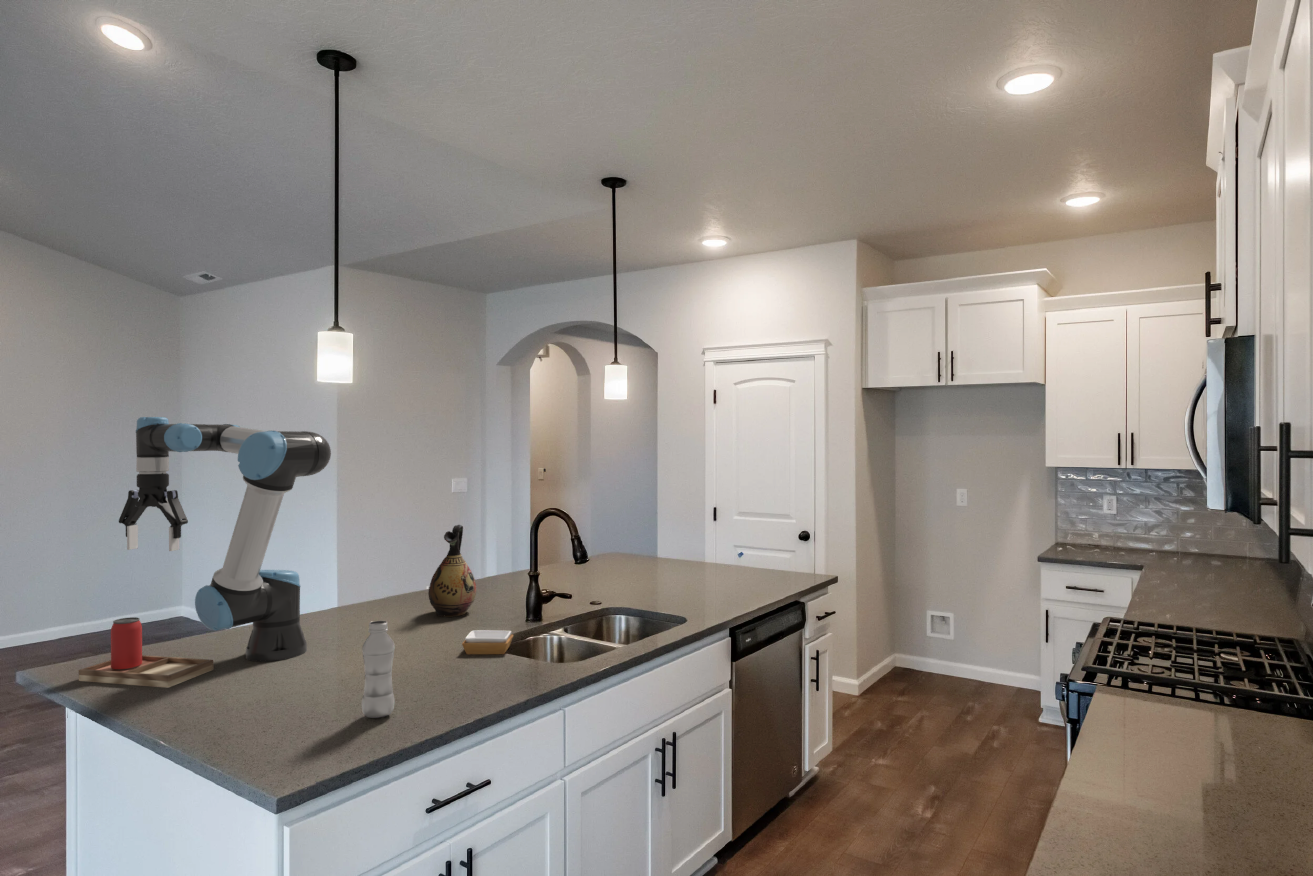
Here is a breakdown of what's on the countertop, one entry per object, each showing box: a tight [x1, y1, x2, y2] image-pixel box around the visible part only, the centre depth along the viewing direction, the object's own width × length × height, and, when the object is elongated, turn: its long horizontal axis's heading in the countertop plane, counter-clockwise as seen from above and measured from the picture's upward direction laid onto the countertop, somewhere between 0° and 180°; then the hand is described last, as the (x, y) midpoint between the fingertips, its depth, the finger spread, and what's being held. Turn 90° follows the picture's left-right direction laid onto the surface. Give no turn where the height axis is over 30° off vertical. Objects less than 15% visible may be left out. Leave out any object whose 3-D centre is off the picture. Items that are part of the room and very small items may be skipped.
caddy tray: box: [78, 654, 214, 689], centre depth 194 cm, size 26×14×3 cm, turn 78°
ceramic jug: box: [427, 524, 477, 618], centre depth 259 cm, size 17×15×30 cm
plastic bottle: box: [361, 620, 396, 719], centre depth 165 cm, size 6×7×20 cm
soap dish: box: [461, 629, 514, 655], centre depth 215 cm, size 12×10×5 cm
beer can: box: [110, 616, 143, 670], centre depth 195 cm, size 7×7×12 cm
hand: (153, 549), depth 214 cm, fingers open, 13 cm apart
